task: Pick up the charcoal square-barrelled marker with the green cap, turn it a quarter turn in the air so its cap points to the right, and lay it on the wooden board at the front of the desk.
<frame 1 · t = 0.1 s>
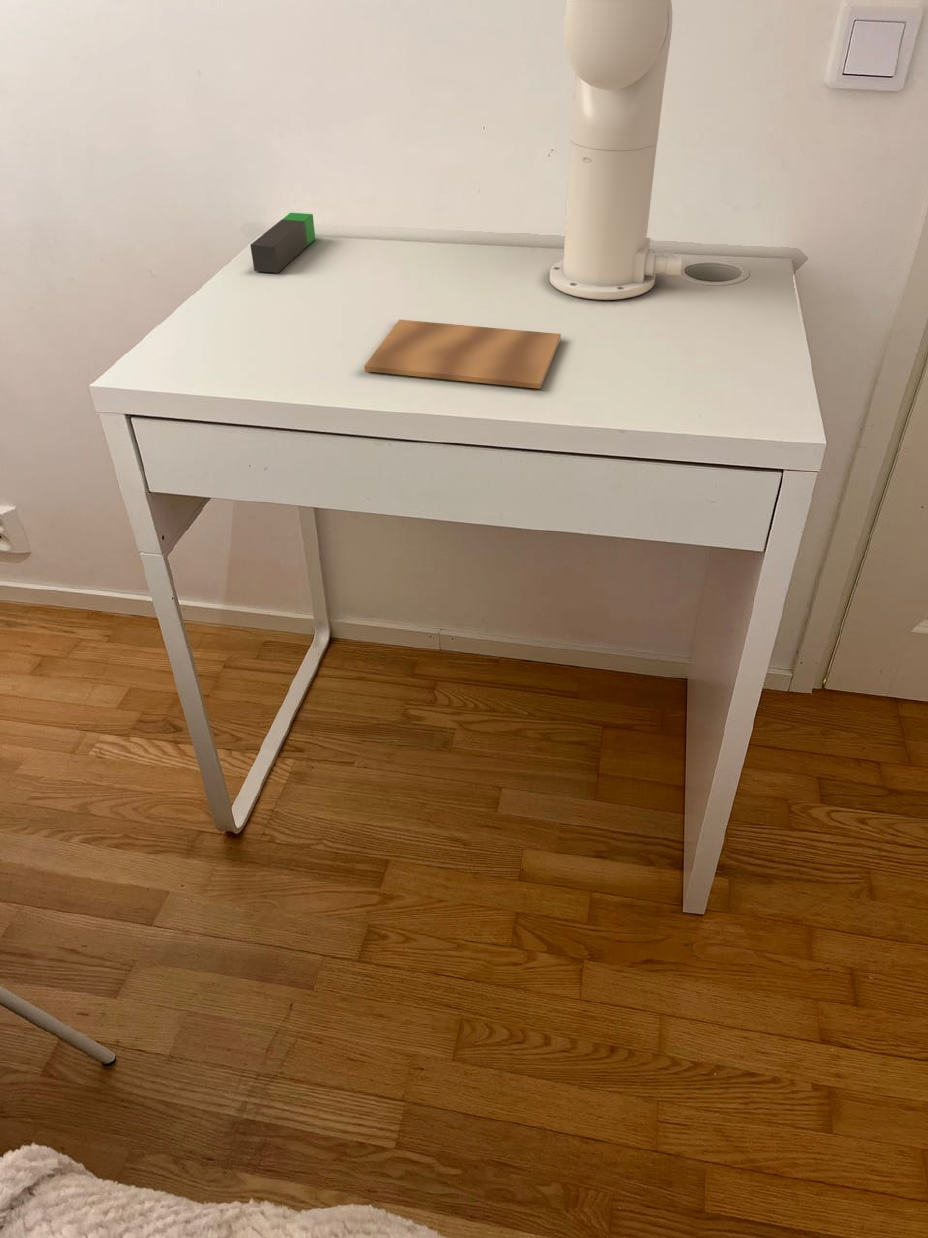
marker: (304, 237, 126), on the table
wooden board: (465, 354, 97), on the table
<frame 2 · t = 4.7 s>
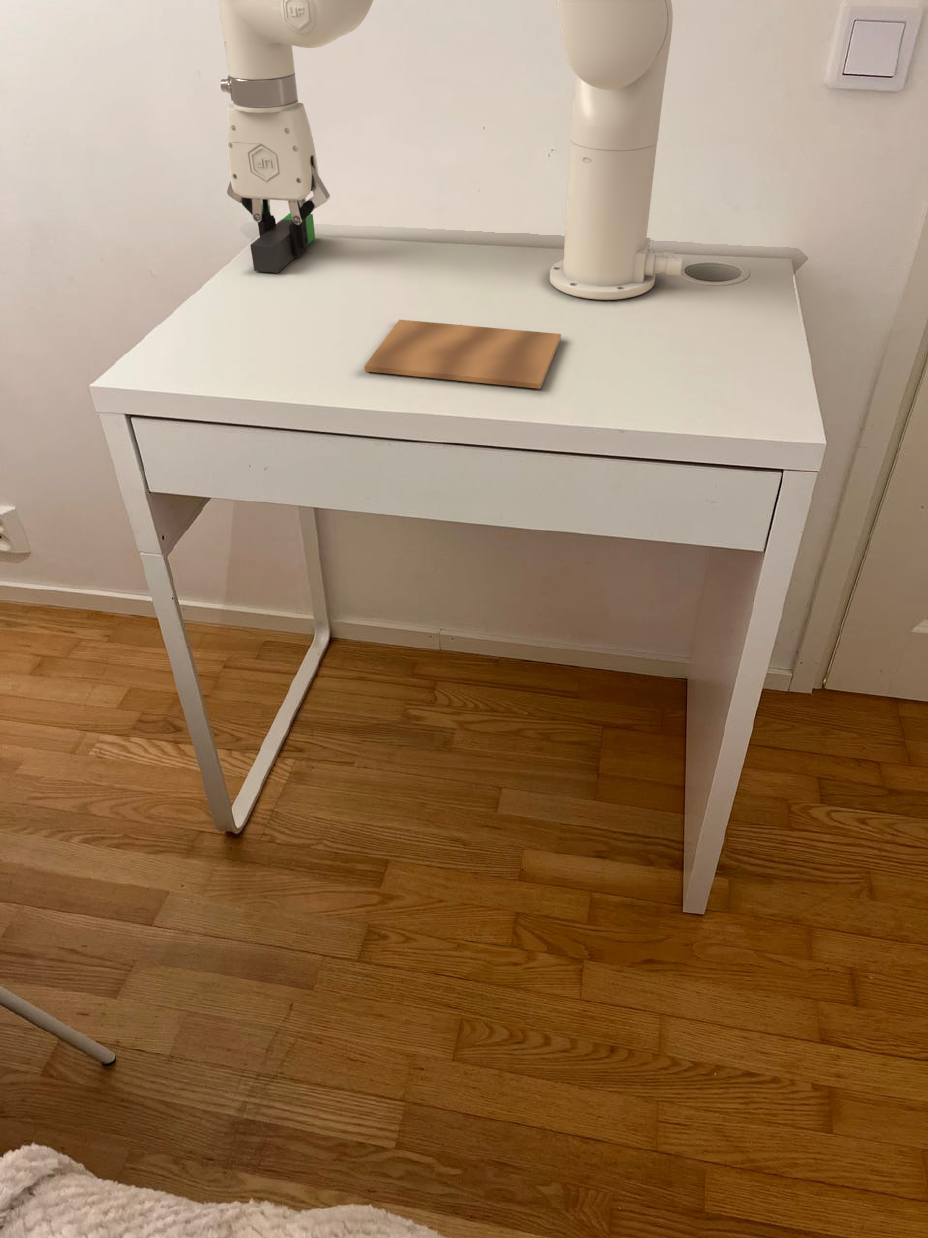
hand: (285, 250, 121), 0 cm above the table, tool pointing down, fingers closed on marker, 3 cm apart
marker: (304, 237, 126), on the table, touching gripper
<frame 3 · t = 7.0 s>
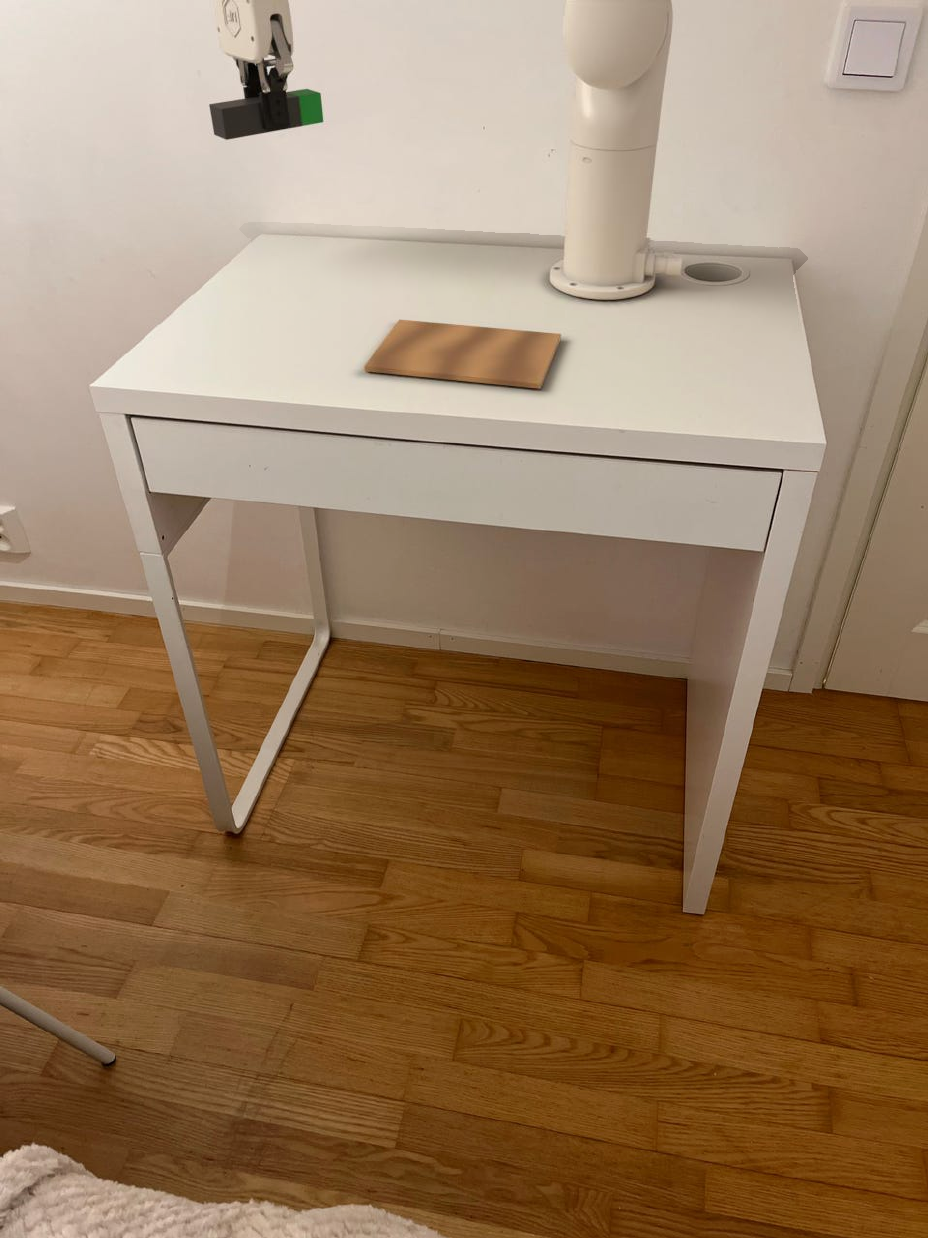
hand: (269, 124, 111), 15 cm above the table, tool pointing down, fingers closed on marker, 3 cm apart
marker: (317, 119, 115), point 15 cm above the table, touching gripper
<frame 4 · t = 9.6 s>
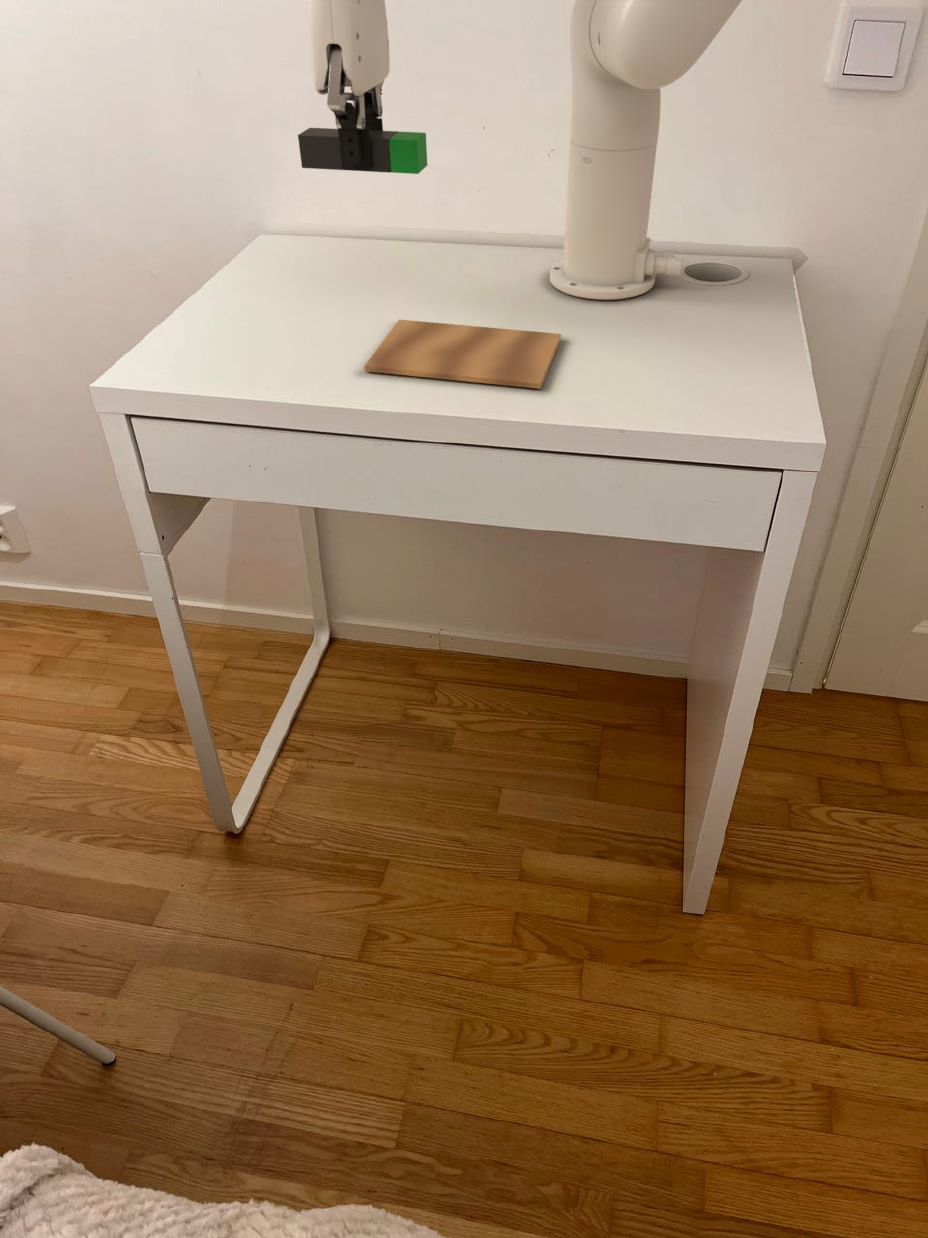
hand: (363, 162, 99), 15 cm above the table, tool pointing down, fingers closed on marker, 3 cm apart
marker: (423, 169, 98), point 15 cm above the table, touching gripper
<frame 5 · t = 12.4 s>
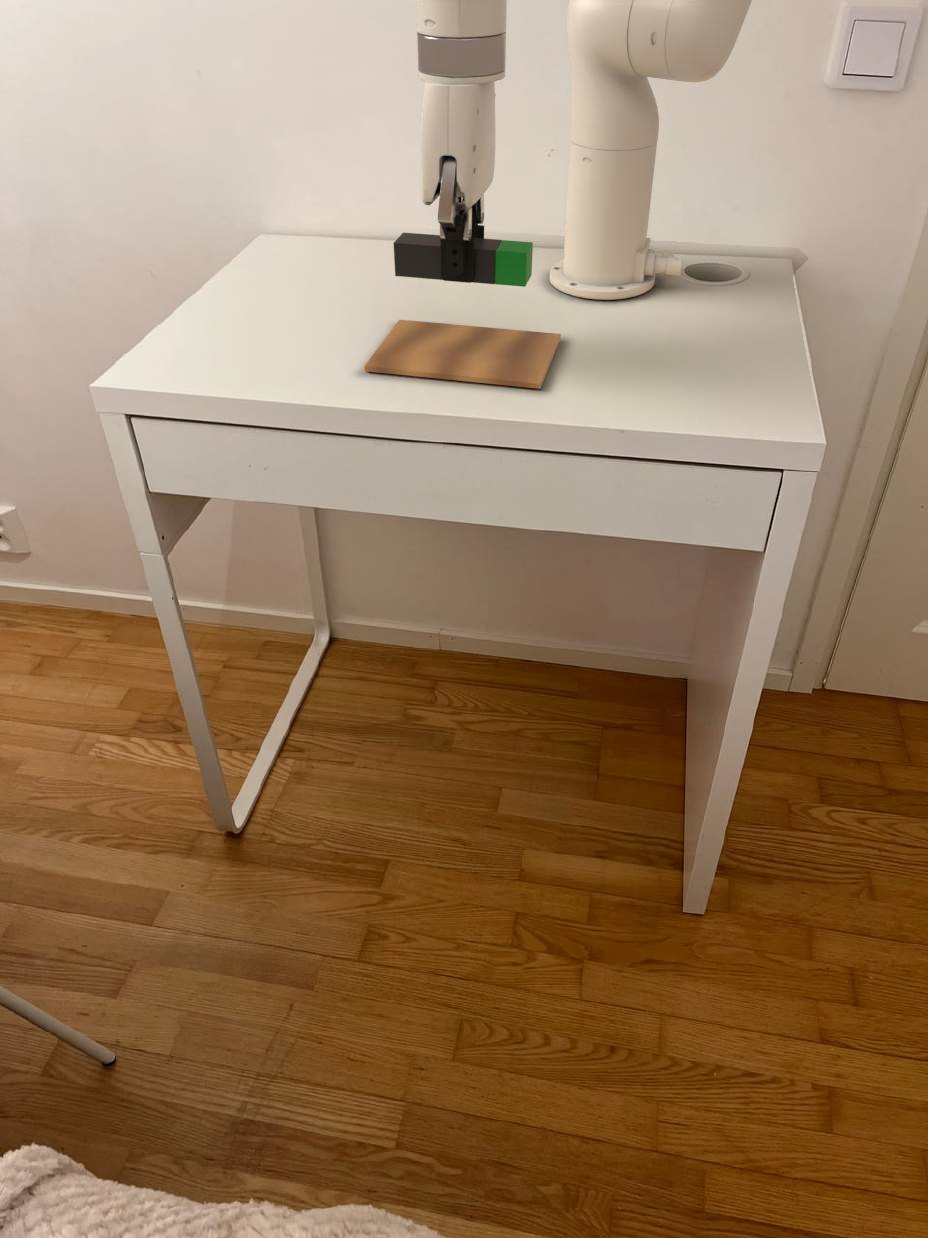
hand: (462, 271, 91), 9 cm above the table, tool pointing down, fingers closed on marker, 3 cm apart
marker: (528, 281, 90), point 8 cm above the table, touching gripper
when the fingers open (1 cm above the table, at t = 14.4 s): marker stays where it is, resting on wooden board.
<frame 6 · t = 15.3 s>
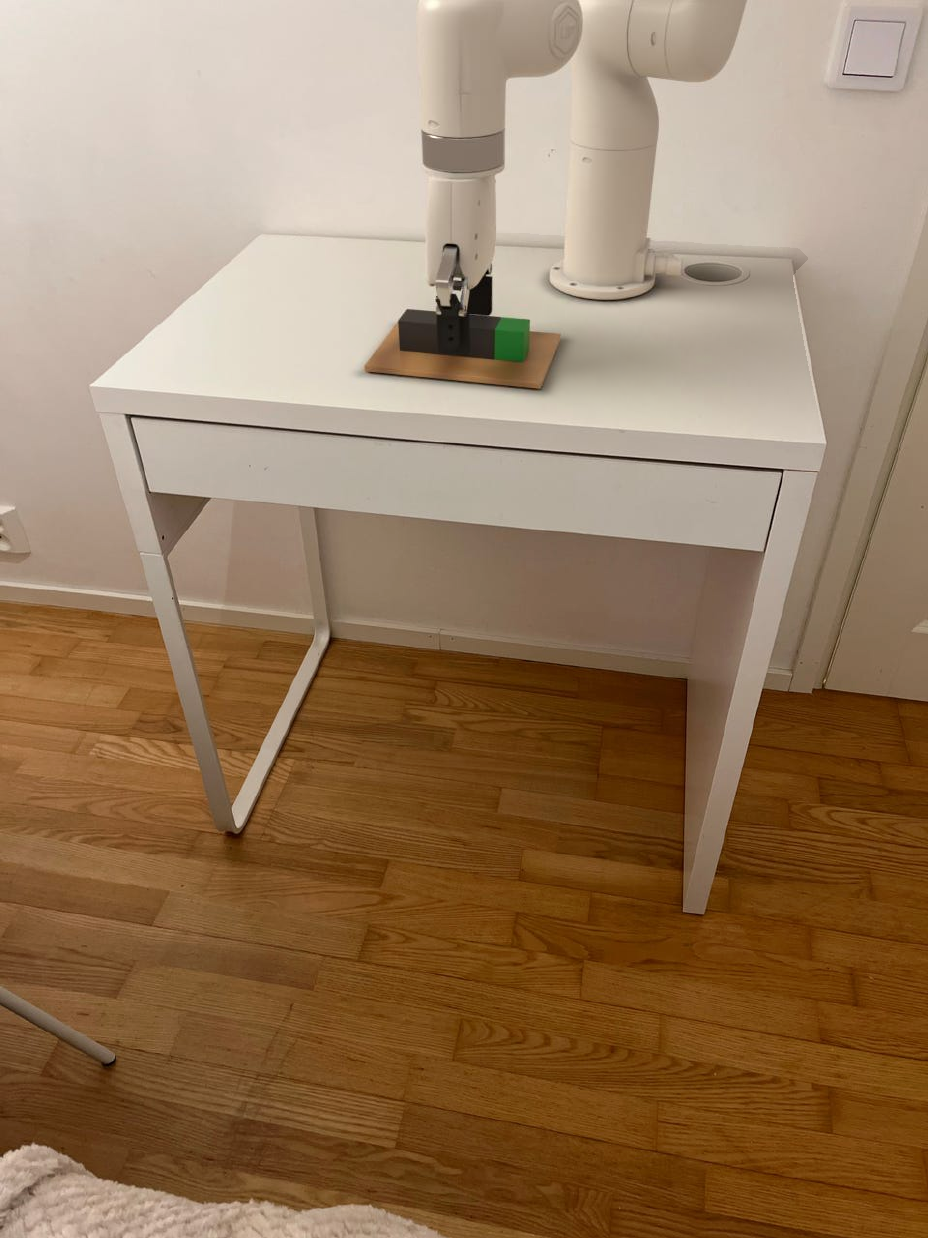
hand: (465, 332, 96), 2 cm above the table, tool pointing down, fingers open, 9 cm apart
marker: (526, 355, 95), point 1 cm above the table, touching wooden board
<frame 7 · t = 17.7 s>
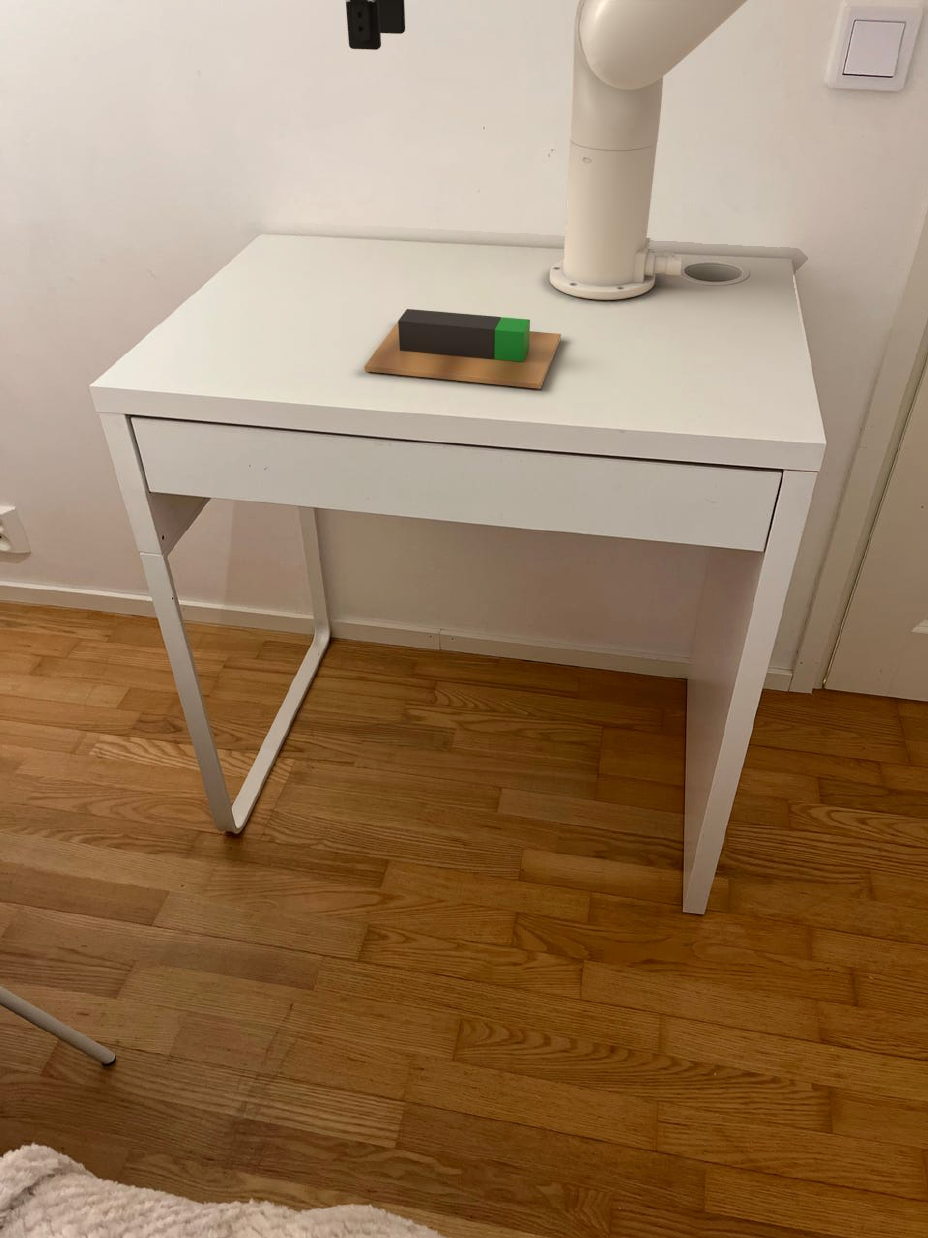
hand: (378, 40, 97), 25 cm above the table, tool pointing down, fingers open, 9 cm apart
nothing on the table moved.
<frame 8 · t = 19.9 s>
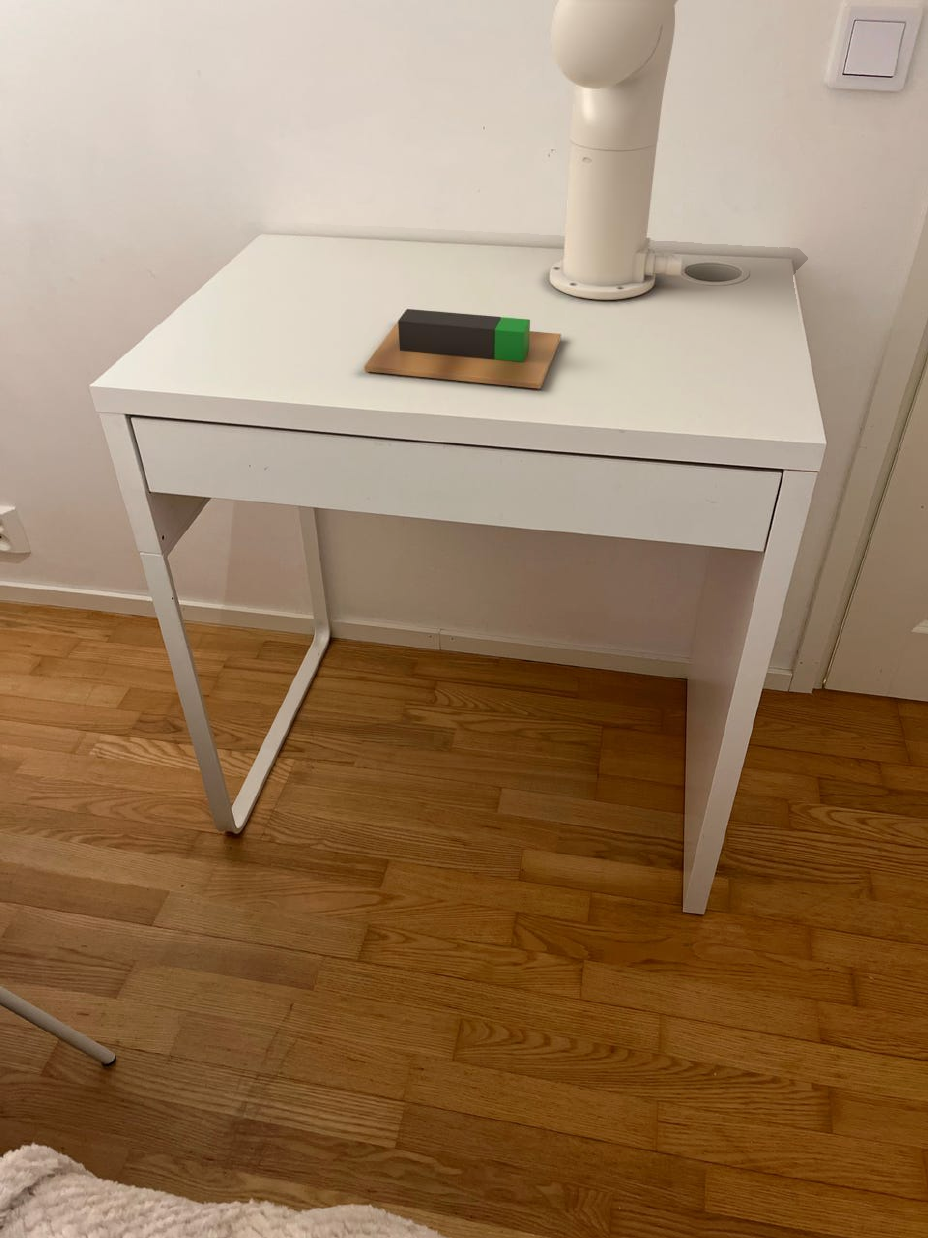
nothing on the table moved.
at the end: marker 0.2 cm from the target spot on the wooden board, point 0.6 cm above the wooden board's base; marker touching wooden board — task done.
